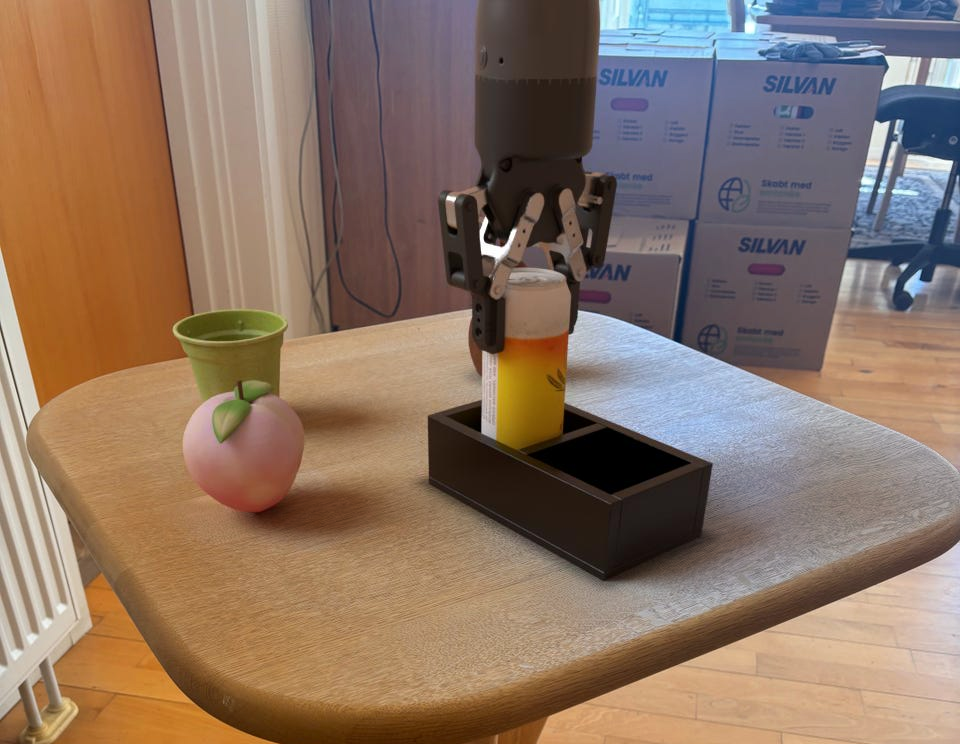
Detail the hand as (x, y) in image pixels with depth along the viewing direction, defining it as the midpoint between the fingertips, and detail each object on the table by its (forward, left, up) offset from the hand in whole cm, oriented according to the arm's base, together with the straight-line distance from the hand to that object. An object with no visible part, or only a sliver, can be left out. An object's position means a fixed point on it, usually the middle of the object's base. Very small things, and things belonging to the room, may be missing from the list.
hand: (526, 340), depth 69 cm
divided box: (0, +4, -12) cm, 12 cm away
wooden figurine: (-16, -21, -12) cm, 29 cm away
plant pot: (+10, -26, -12) cm, 30 cm away
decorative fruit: (+18, -10, -12) cm, 24 cm away
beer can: (0, 0, -11) cm, 11 cm away
